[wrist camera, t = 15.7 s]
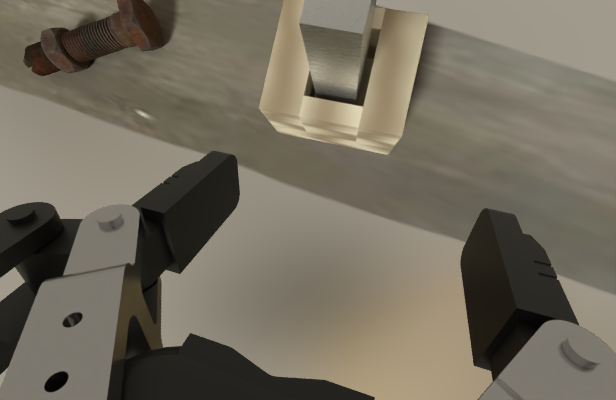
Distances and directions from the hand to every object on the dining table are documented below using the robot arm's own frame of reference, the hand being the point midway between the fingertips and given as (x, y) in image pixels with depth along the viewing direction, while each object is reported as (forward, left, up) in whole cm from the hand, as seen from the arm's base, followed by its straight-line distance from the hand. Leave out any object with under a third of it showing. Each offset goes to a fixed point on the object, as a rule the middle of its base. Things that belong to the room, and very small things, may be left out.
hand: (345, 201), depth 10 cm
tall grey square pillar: (+3, -12, -20) cm, 23 cm away
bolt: (+32, -12, -23) cm, 41 cm away
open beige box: (+3, -12, -23) cm, 26 cm away
